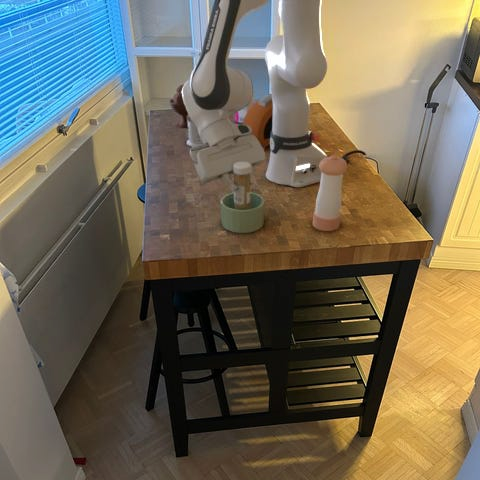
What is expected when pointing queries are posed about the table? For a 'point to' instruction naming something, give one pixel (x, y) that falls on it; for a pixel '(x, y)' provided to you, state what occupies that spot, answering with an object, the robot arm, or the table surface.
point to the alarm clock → (261, 119)
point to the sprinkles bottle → (242, 185)
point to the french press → (193, 134)
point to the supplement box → (244, 111)
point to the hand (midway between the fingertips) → (243, 187)
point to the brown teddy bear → (179, 106)
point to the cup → (242, 214)
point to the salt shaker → (329, 194)
